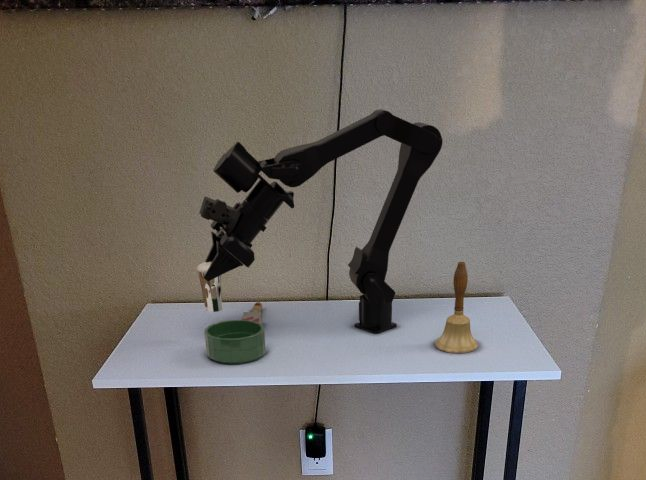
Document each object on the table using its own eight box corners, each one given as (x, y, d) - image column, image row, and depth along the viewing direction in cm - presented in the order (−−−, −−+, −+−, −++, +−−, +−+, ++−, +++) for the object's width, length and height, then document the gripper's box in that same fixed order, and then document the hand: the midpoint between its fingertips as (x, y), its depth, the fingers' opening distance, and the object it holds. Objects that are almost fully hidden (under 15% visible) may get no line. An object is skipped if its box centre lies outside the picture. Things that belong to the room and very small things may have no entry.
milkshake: (233, 307, 147) (227, 254, 142) (215, 314, 144) (208, 260, 139) (215, 304, 150) (209, 253, 145) (197, 311, 146) (190, 258, 141)
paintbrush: (236, 325, 149) (249, 299, 166) (237, 338, 150) (250, 311, 168) (255, 324, 149) (267, 299, 166) (256, 338, 150) (268, 311, 167)
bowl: (277, 354, 144) (276, 329, 141) (230, 370, 137) (227, 343, 134) (242, 340, 151) (240, 315, 148) (195, 354, 144) (192, 329, 142)
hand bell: (474, 355, 141) (482, 269, 133) (431, 351, 143) (435, 266, 135) (480, 340, 148) (487, 257, 139) (438, 336, 150) (443, 255, 142)
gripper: (216, 172, 143) (166, 237, 146) (229, 188, 127) (173, 260, 131) (260, 212, 148) (211, 274, 152) (278, 232, 133) (223, 300, 137)
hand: (204, 276), depth 143 cm, fingers closed on milkshake, 4 cm apart
